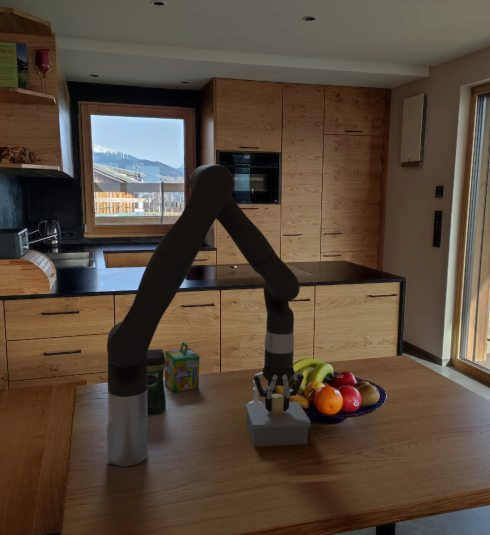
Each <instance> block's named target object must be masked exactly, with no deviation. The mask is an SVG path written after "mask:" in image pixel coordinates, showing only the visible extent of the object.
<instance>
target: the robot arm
mask: <svg viewBox="0 0 490 535" xmlns="http://www.w3.org/2000/svg"><path fill="white" fill-rule="evenodd" d="M189 190H190V191H191V194H190V196H189V198H188V201H187V203H186V205H185V207H184V209H183V211H182V212H181V214H180V216H179V217H178V219H177V220H176V221H175V222H174V223H173V224H172V226H171V227H170V228H169V229H168V231H167V232H166V233H165V234H164V235H163V236H162V238H161V240H160V241H159V242H158V244H157V246H156V247H155V249H154V251H153V253H152V255H151V257H150V258H149V260H148V262H147V265H146V266H145V268H144V272H143V274H142V275H141V279H140V282H139V284H138V288H137V290H136V293H135V297H134V300H133V301H132V304H131V307H130V308H129V310H128V312H127V314H125V316H124V318H123V320H122V321H120V322H118V323H115V325H113V327H112V328H111V329H110V331H109V333H108V336H107V343H106V350H107V351H106V352H107V415H108V416H107V417H108V418H107V420H108V421H107V425H106V442H107V443H106V449H107V451H106V452H107V454H106V455H107V456H106V458H107V464H108V465H111V464H112V465H114V466H118V467H130V466H131V467H132V466H136V465H138V464H140V463H142V462H144V461H145V460H146V459H148V454H149V452H148V450H149V445H148V432H149V431H148V428H149V427H148V421H149V420H148V416H149V415H148V400H147V399H148V395H147V382H148V378H147V351H148V350H149V348H150V345H151V343H152V340H153V337H154V335H155V332H156V331H157V328H158V326H159V325H160V324H159V323H160V322H161V319H162V318H163V316H164V314H165V312H166V311H167V310H168V308H169V306H170V305H171V303H172V301H173V300H174V299H175V296H176V295H177V293H178V292H179V290H180V288H181V286H182V285H183V283H184V282H185V280H186V278H187V276H188V274H189V272H190V270H191V268H192V266H193V264H194V262H195V260H196V258H197V256H198V255H199V252H200V250H201V247H202V245H203V244H204V242H205V239H206V237H207V236H208V233H209V231H210V229H211V228H212V226H213V224H214V223H215V221H216V220H217V221H218V223H220V224H221V226H222V227H223V229H224V230H225V231H226V233H227V234H228V235H229V237H230V238H231V240H232V241H233V243H234V244H235V245H236V247H237V249H238V250H239V251H240V254H242V256H243V257H244V259H245V260H246V262H248V264H249V266H250V267H251V269H253V271H254V272H255V273H257V274H258V275H260V277H262V278H263V280H264V282H263V297H264V304H265V309H266V310H265V311H266V325H265V326H266V328H265V329H266V331H265V338H264V346H263V347H264V365H263V368H262V371H261V372H258V373H256V372H253V373H252V378H253V381H255V384H256V387H257V389H258V395H259V396H260V397H262V398H264V403H265V408H266V410H268V412H271V404H272V399H271V396H272V394H273V393H274V390H275V387H278V386H279V387H282V392H283V394H282V395H283V396H284V411H287V409H289V402H290V398H291V397H292V396H293V397H296V396H297V394H298V392H299V391H300V388H301V385H302V383H303V381H304V378H305V376H304V374H303V373H302V372H301V371H295V369H294V353H295V352H294V349H295V336H294V325H295V323H294V322H295V315H294V311H293V310H292V309H291V308H290V305H289V302H291V301H293V300H295V299H296V298H297V297H298V295H299V293H300V291H301V290H300V288H301V287H300V282H299V280H298V278H297V276H296V274H295V273H294V272H293V271H292V269H290V268H289V267H288V265H287V264H286V263H285V262H284V261H283V260H282V259H281V258H280V257H279V256H278V254H277V253H276V251H275V249H274V248H273V246H272V245H271V243H270V242H269V241H268V239H267V237H265V235H264V234H263V233H262V231H261V230H260V229H259V227H257V226H256V225H255V224H254V223H253V221H252V220H251V219H250V218H249V217H248V215H246V214H245V213H244V211H243V210H242V209H241V208H240V206H239V204H238V203H237V201H236V200H235V198H234V197H233V193H234V190H235V179H234V175H233V174H232V172H231V171H230V170H229V168H228V167H226V166H223V165H221V164H213V163H212V164H208V163H207V164H202V165H200V166H198V167H196V168H195V169H194V170H193V172H192V173H191V175H190V177H189ZM263 377H264V378H265V380H266V381H267V382H266V386H265V387H266V388H265V390H264V388H263V387H262V384H261V382H262V381H263ZM292 378H293V382H292V385H291V387H290V386H289V382H290V381H291V379H292Z"/></svg>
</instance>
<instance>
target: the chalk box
mask: <svg viewBox="0 0 490 535" xmlns="http://www.w3.org/2000/svg"><path fill="white" fill-rule="evenodd" d="M164 356H165V368H164V385H166V387H168V388H169V390H170V391H172V393H173V394H175V393H179V392H186V391H192V390H199V389H200V388H199V387H200V386H199V385H200V382H199V381H200V379H199V378H200V355H199V354H198V353H197V352H196V351H194V350H193V349H192V348H189V345H188V344H187V343H185V341H182V343H181V346H180V349H175V350H167V351H166V350H165V353H164Z"/></svg>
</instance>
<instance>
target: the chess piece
mask: <svg viewBox="0 0 490 535" xmlns="http://www.w3.org/2000/svg"><path fill="white" fill-rule="evenodd" d="M252 383H253V386H254V387H253V388H252V390H253V391H254V393H253V399H252V400H251V401H249V402H248V403H263V402H261V401H260V400H259V392H258V389H257V387H256V384H255V381H254V380H253V381H252Z"/></svg>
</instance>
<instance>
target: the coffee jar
mask: <svg viewBox="0 0 490 535" xmlns="http://www.w3.org/2000/svg"><path fill="white" fill-rule="evenodd" d="M164 371H165V353H164V349H162V348H157V349H156V348H155V349H148V351H147V378H148V382H147V395H148V399H147V400H148V416H149V415H158V414H159V415H160V414H162V413H164V412H165V411H166V408H167V405H166V404H167V402H166V401H167V400H166V392H165V383H164V382H165V379H164Z"/></svg>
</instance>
